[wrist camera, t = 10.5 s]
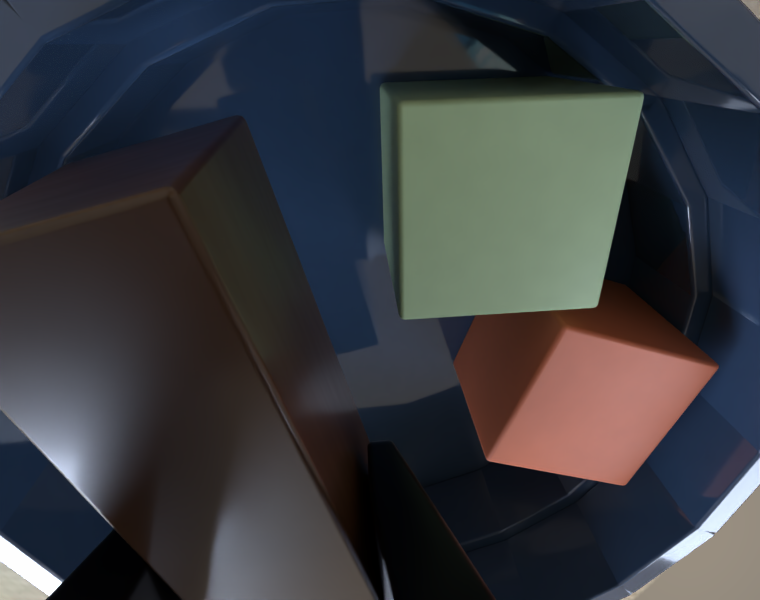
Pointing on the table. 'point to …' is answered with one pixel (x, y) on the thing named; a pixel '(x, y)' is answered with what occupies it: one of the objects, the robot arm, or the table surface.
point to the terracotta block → (579, 385)
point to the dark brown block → (186, 369)
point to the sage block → (502, 191)
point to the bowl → (368, 254)
